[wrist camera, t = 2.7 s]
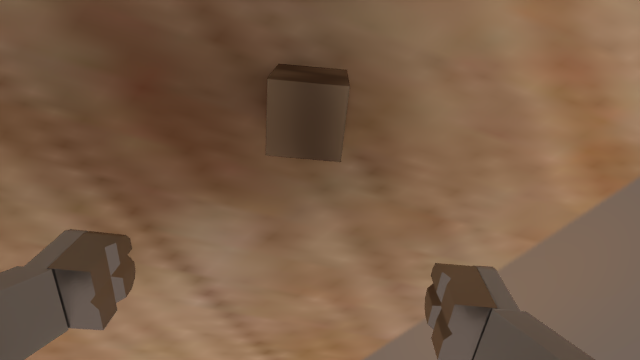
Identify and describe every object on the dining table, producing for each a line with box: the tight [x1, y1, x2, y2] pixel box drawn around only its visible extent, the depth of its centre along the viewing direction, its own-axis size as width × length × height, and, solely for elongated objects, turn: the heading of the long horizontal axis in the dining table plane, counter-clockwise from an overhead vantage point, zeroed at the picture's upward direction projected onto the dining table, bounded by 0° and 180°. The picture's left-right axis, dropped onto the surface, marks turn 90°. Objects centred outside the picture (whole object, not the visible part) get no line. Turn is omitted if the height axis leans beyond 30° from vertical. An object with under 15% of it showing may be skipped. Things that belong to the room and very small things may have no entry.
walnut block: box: [266, 64, 350, 162], centre depth 24 cm, size 4×4×5 cm
